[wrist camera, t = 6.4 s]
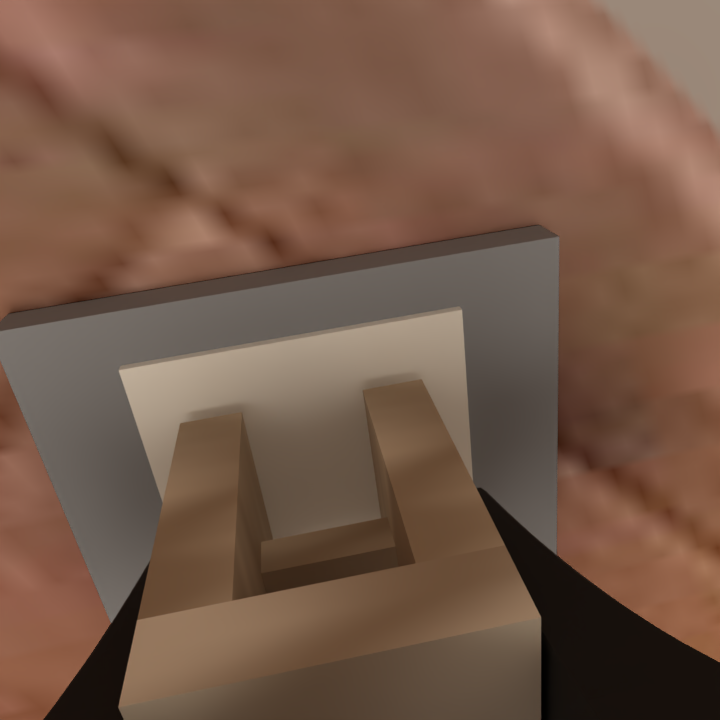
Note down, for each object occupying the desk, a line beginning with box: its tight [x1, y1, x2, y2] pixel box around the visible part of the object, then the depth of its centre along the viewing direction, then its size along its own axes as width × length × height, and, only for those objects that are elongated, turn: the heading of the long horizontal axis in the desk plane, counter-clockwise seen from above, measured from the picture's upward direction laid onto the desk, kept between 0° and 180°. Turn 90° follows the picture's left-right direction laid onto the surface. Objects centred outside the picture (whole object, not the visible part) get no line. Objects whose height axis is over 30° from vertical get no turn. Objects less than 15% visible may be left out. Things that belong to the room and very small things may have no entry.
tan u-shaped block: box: [118, 379, 541, 720], centre depth 11 cm, size 5×5×6 cm
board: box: [0, 225, 559, 623], centre depth 17 cm, size 20×11×1 cm, turn 7°
